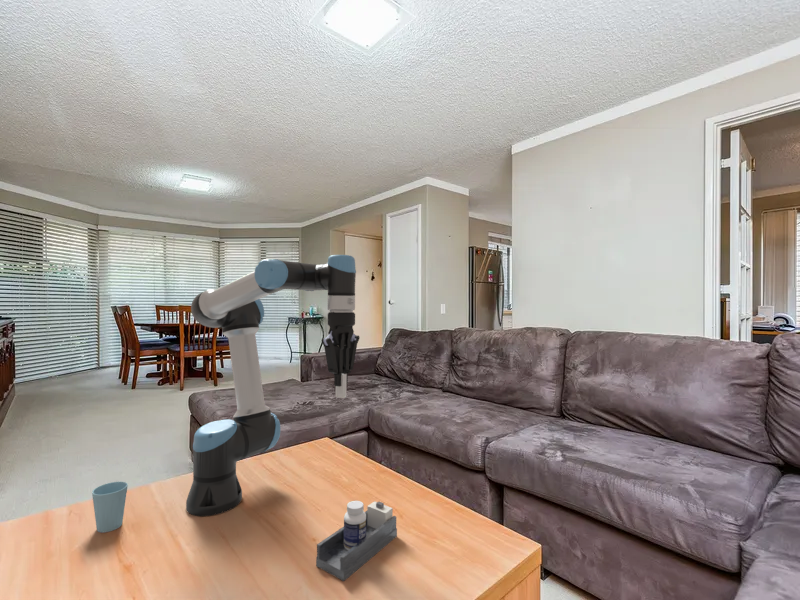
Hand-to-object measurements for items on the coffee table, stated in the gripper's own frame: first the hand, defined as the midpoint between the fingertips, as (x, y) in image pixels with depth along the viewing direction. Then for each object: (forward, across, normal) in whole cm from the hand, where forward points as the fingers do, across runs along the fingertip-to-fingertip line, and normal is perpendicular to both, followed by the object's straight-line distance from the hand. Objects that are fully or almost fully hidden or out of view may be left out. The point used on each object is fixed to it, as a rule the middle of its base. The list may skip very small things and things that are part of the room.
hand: (340, 397), depth 107 cm
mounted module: (+32, +2, -12) cm, 35 cm away
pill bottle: (+33, -8, -12) cm, 36 cm away
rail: (+34, -6, -12) cm, 37 cm away
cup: (+35, -37, +49) cm, 70 cm away
